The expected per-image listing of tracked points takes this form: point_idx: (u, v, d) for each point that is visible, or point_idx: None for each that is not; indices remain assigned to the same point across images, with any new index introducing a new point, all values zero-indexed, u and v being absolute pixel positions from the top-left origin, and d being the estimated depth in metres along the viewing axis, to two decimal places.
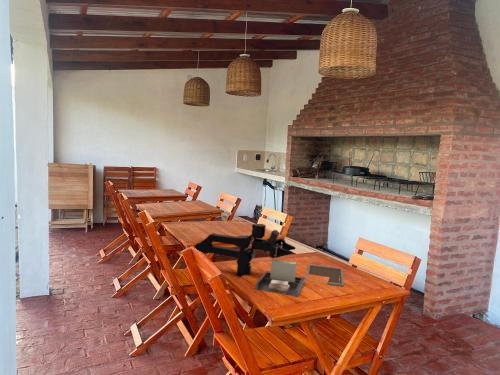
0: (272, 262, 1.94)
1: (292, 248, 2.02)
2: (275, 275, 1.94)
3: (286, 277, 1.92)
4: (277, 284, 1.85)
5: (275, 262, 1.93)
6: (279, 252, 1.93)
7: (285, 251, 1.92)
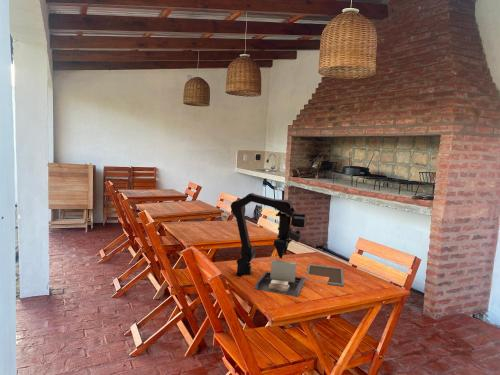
0: (272, 262, 1.94)
1: (284, 250, 2.03)
2: (275, 275, 1.94)
3: (286, 277, 1.92)
4: (277, 284, 1.85)
5: (275, 262, 1.93)
6: (279, 247, 1.93)
7: (281, 253, 1.93)
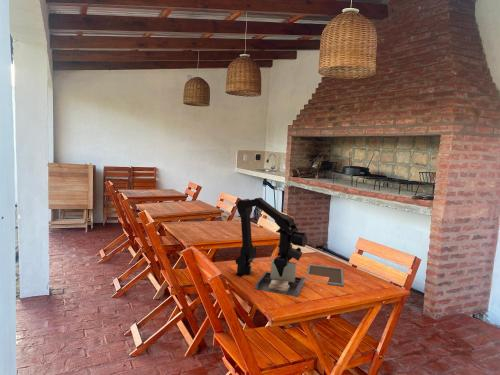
0: (272, 262, 1.94)
1: None
2: (275, 275, 1.94)
3: (286, 277, 1.92)
4: (277, 284, 1.85)
5: None
6: None
7: (281, 271, 1.88)
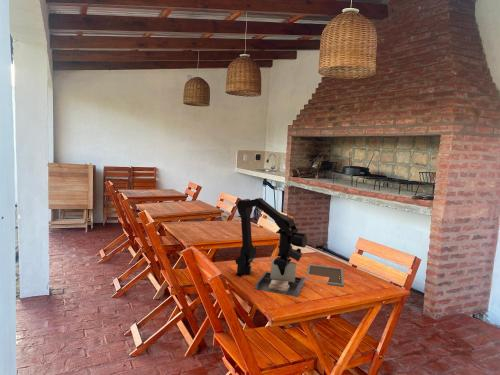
0: (272, 262, 1.94)
1: None
2: (275, 275, 1.94)
3: (286, 277, 1.92)
4: (277, 284, 1.85)
5: None
6: None
7: (283, 270, 1.91)
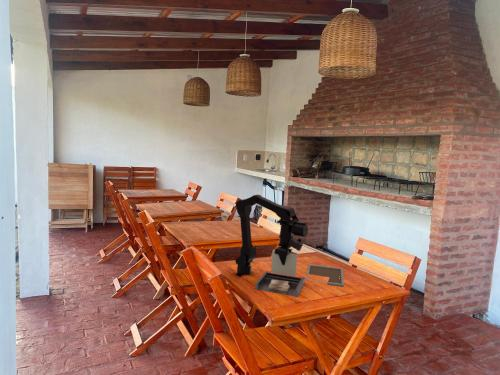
0: (273, 252, 1.93)
1: None
2: (276, 265, 1.93)
3: (287, 267, 1.92)
4: (277, 284, 1.85)
5: None
6: None
7: (284, 259, 1.90)
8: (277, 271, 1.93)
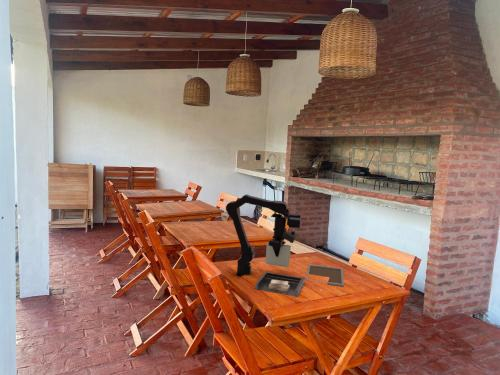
0: (267, 245, 2.02)
1: None
2: (270, 257, 2.02)
3: (281, 259, 2.00)
4: (277, 284, 1.85)
5: None
6: None
7: (277, 251, 1.99)
8: (271, 263, 2.02)
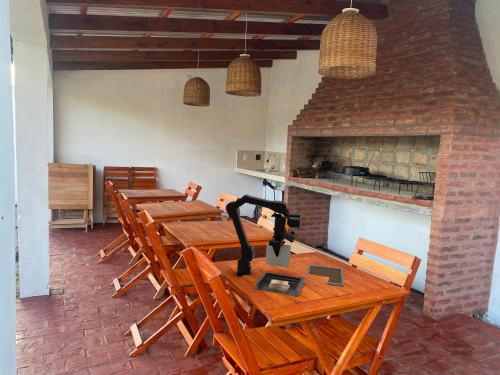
0: (267, 245, 2.02)
1: None
2: (270, 257, 2.02)
3: (281, 259, 2.00)
4: (277, 284, 1.85)
5: None
6: None
7: (277, 251, 1.99)
8: (271, 263, 2.02)
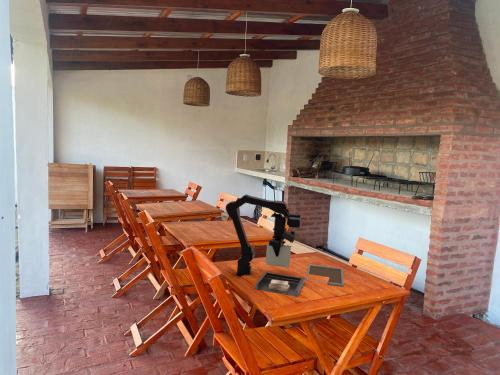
0: (268, 245, 2.02)
1: None
2: (271, 258, 2.02)
3: (281, 259, 2.00)
4: (277, 284, 1.85)
5: None
6: None
7: (277, 251, 1.99)
8: (272, 263, 2.02)
